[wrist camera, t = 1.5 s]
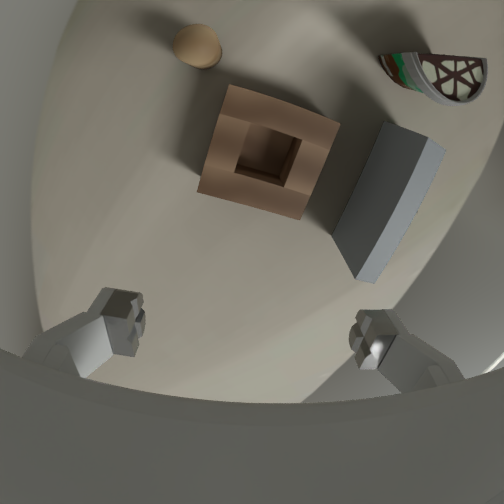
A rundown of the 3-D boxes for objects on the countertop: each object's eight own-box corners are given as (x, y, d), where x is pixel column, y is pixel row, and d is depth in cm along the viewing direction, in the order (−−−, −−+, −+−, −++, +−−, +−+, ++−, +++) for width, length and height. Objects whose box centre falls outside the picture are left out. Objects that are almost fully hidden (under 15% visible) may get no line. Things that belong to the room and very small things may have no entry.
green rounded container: (377, 101, 30) (422, 111, 21) (368, 56, 26) (411, 51, 18) (447, 95, 28) (495, 108, 20) (440, 55, 25) (489, 58, 17)
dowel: (193, 35, 25) (180, 20, 18) (226, 42, 25) (224, 29, 19) (182, 65, 27) (167, 59, 20) (215, 72, 27) (210, 68, 21)
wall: (384, 120, 31) (428, 137, 23) (401, 130, 32) (446, 149, 23) (331, 235, 40) (355, 279, 32) (348, 241, 41) (374, 283, 32)
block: (230, 84, 28) (229, 84, 24) (326, 117, 31) (340, 123, 27) (201, 177, 34) (196, 192, 30) (292, 203, 37) (299, 220, 33)
